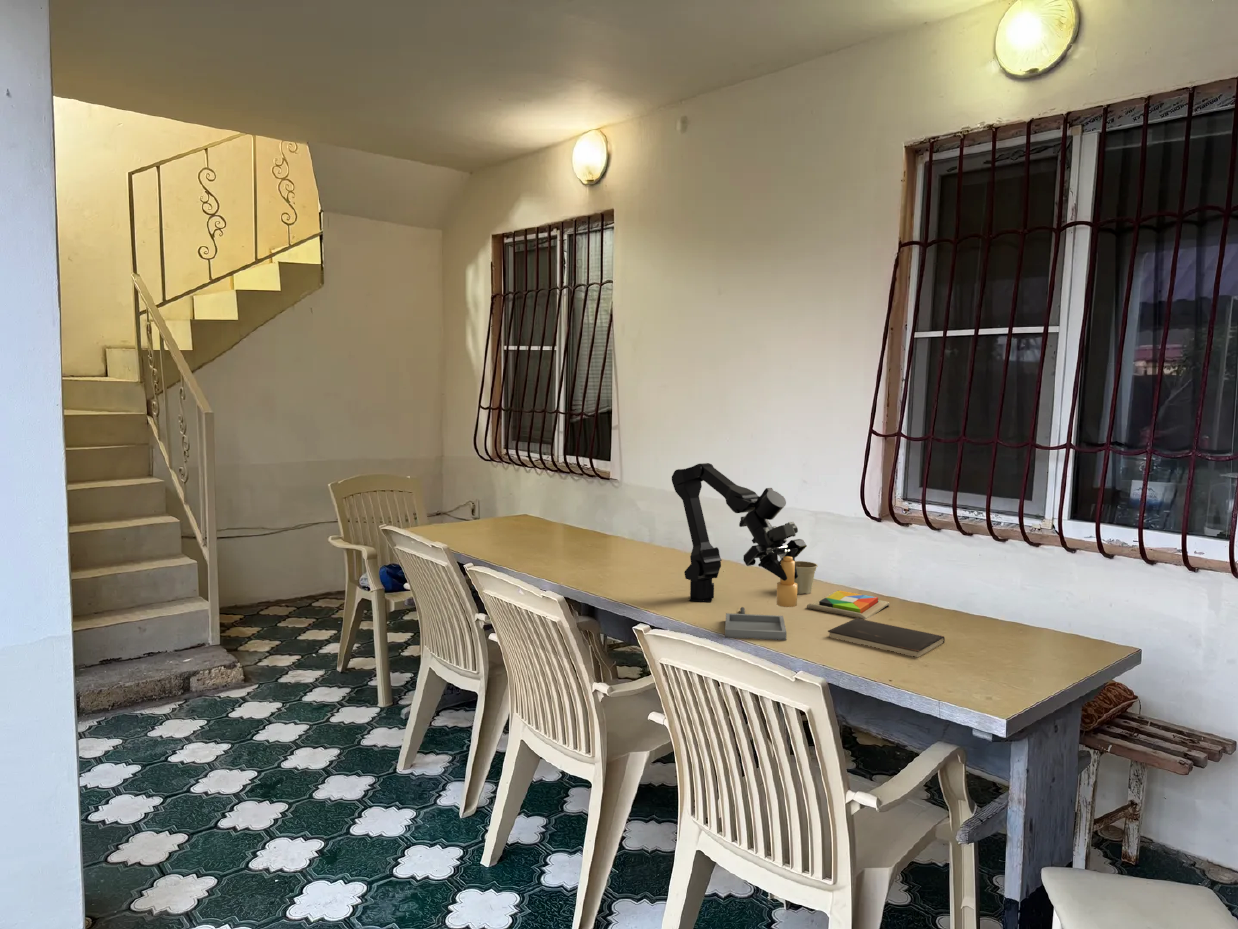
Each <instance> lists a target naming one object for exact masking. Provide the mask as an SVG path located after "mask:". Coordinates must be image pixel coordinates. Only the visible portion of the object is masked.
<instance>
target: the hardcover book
mask: <svg viewBox="0 0 1238 929" xmlns="http://www.w3.org/2000/svg"><path fill="white" fill-rule="evenodd" d="M827 632H828V633H829V638H830V639H831V638H832V639H835V638H838V639H837V640H839V639H841V640H840V641H844V640H845V642H848V641H849V643H852V642H853V643H854V644H858V645H861V644H864V645H863V646H865V645H868V646H867V647H870V646H872V647H871V648H874V647H876V648H875V649H878V648H880V649H879V650H882V651H883V650H884V651H887V650H890V651H889V652H891V651H894V652H893V653H896V652H897V654H900V653H901V655H904V654H905V656H909V657H913V656H915V657H914V658H917V657H918V658H919V657H921V656H922V655H923V656H924V655H925V654H926V653H928V652H929V651H931V650H933V649H935V648H937V647H938V646H940V645H942V644H944V643H945V642H946V641H945V636H944V635H940V634H936V633H930V632H925V631H920V630H915V629H910V628H906V627H902V626H901V627H900V626H896V625H891V624H885V623H881V622H876V621H872V620H868V619H861V618H856V617H855V618H853V619H852V620H849V621H847V622H845V623H842V624H840V625H837V626H836V627H834V628H830V629H829V630H827ZM853 643H852V644H853Z"/></svg>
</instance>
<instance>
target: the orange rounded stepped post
mask: <svg viewBox="0 0 1238 929" xmlns="http://www.w3.org/2000/svg"><path fill="white" fill-rule="evenodd" d="M780 560H781V559H780ZM795 561H796V560H795ZM795 561H794V560H793V557H790V556H784V557H783V560H781V564H780V565H781V566H782V568H783V570H784V572H785V574H786V576H787V580H786V581H784V580H782V579H781V578H780V579H779V581H778V582H777V583H776V605H777V606H778V607H782V608H793V607H794V608H795V607H797V606H798V593H797V583H794V577H795Z"/></svg>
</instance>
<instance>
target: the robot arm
mask: <svg viewBox="0 0 1238 929" xmlns="http://www.w3.org/2000/svg"><path fill="white" fill-rule="evenodd" d="M671 482H672V483H671V484H672V486H673V489H674V491H675V493H676V494H677V495H678V497H680V499H681V500H682V504H683V508H684V511H685V516H686V520H687V521H686V522H687V526H688V530H689V535H690V539H691V542H692V550H691V553H690V555H689V557H690V564H689V566H688V567H686V569H685V570H684V577H685V578H684V579H686V580H688V581H690V584H689V585H690V587H689V588H690V589H689V590H690V592H689V594H690V596H689V601H690V602H706V603H707V602H708V603H709V602H711V603H712V602H713V599H715V598H714V597H715V582H713V579H717V578H718V576H719V572H720V569H722V568H721V567H722V558H721V554H720V549H719V548H718V547H714V546H713V545H712V543H711V542H710V538H709V534H708V530H707V525H706V521H705V517H704V513H703V508H702V503H701V500H700V493H701V489H702V482H704V483H706V484H707V485H709V487H711V488H712V489H713V490H715V491H716V492H717V493H718V494H720V495H721V496H722V497H723V498H724V499H725V503H726V505H727V506H728V507H729V509H730V510H731V511H732V512H734V513H735V514H743V513H746V514H745V515H744V516H740V520H739V524H738V526H739V527H740V528H742V527H743V528H744V527H747V529H748V531H749V532H750V534H751V536H752V540H751V542H752V543H753V544H755V545H751V547H750V548H749V549H748V550H747V551H746V553H744V554H743V562H744V564H745V565H746V566H747V567H750V566H751V567H752V566H755V565H756V561H757V560H756V559H758V558H759V561H760V562H759V563H758V567H759V568H760V567H761V568H763V569H765V571H768V572H770V573H771V574H773V575H775V576H776V577H777V578H781V579H782V580H784V581H786V580H787V576H786V574H785V572H784V570H783V568H782V566H781V560H783V557H784V556H790V557H793V560H794V561H796V560H795V559H796V558H797V557H798V556H799V555H800V554H801V553H803V551H804V550H805V549H806V547H807V544H806V542H805V541H804V539H801V538H797V539H791V540H790V541H788V539H789V538H791V537H793V538H794V537H796V535H797V533H798V532H799V530H798V526H797V525H796V523H795V522H794V521H788V522H786V523H785V524H783V525H779V526H772V524H771V523H770V521H771V520H774V519H775V517H776V516H777V515H778V514H779V513H780V512H781V511H782V510H783V509H784V508H785V507H786V506H787V500H786V498H785V497H784V496H783V495H782V494H781V493H779V492H778V491H776V490H774V489H773V487H766V488H765V489H764V490H763V492H762V493H761V495H758V493H756V491H754V490H752V489H750V488H747V487H744V486H741V485H737V484H736V483H735V482H734V481H732V480H731V479H729V478H728V477H727V476H726V475H724V474H723V473H722V472H720V471H719V470H718V469H717V468H715V467H714V465H713V464H712V463H708V462H705V463H696V464H695V465H692V466H689V467H687V468H678V469H675V470H674V472H673V473H672V476H671ZM786 542H788V543H786ZM784 544H786V545H784ZM778 557H779V558H780V560H779V559H778ZM797 577H798V574H797V569H796V564H795V577H794V578H795V579H796V578H797Z"/></svg>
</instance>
